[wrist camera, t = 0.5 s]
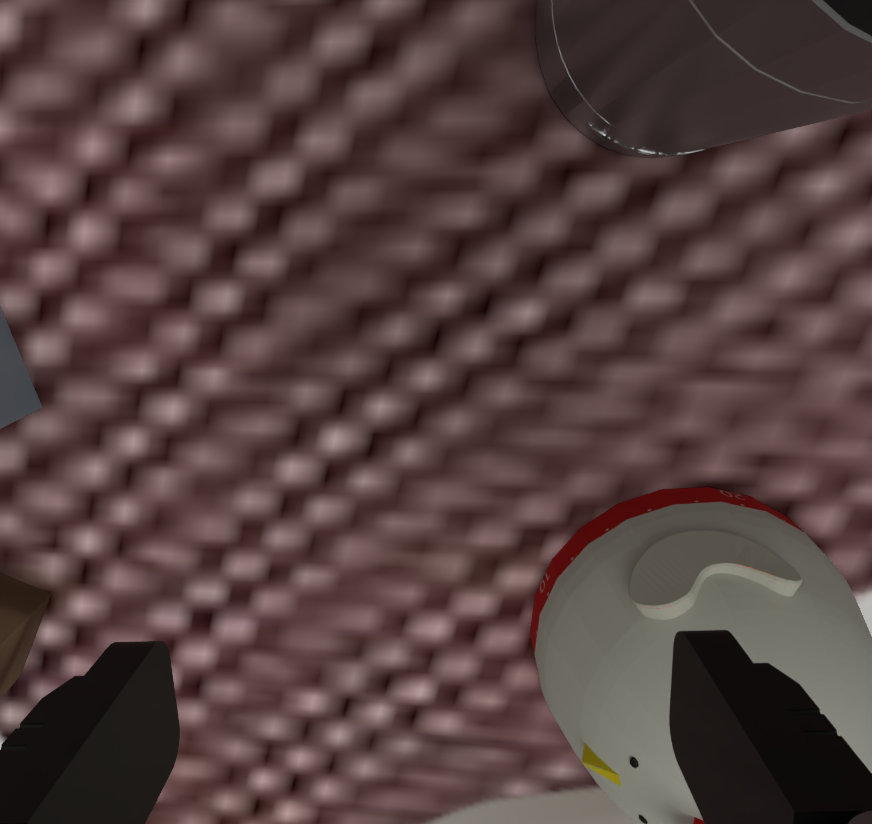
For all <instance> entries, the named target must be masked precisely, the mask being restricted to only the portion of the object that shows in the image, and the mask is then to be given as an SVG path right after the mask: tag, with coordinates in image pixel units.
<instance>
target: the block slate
mask: <svg viewBox="0 0 872 824" xmlns="http://www.w3.org/2000/svg"><path fill="white" fill-rule="evenodd" d="M41 408H43V407H42V405H41V403H40V400H39V398H38V395H37V393H36V391H35V388H34V386H33V384H32V381H31V379H30V376H29V374H28V372H27V369H26V367H25V364H24V362H23V360H22V357H21V355H20V353H19V350H18V348H17V345H16V343H15V341H14V338H13V336H12V333H11V331H10V329H9V326H8V324H7V322H6V319H5V317H4V314H3V312H2V310H1V307H0V429H1V428H3V427H5V426H7V425H9V424H11V423H13V422H15V421H17V420H19V419H21V418H23V417H25V416H27V415H29V414H31V413H33V412H35V411H37V410H39V409H41Z"/></svg>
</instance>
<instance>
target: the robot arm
mask: <svg viewBox="0 0 872 824" xmlns="http://www.w3.org/2000/svg"><path fill="white" fill-rule="evenodd" d="M535 39H536V45H537V52H538V58H539V64H540V68H541V71H542V74H543V76H544V79H545V82H546V84H547V87H548V90H549V93H550V94H551V96H552V97H553V99H554V101H555V102H556V104H557V105H558V107H559V108H560V110H561V112H562V113H563V115H564V116H565V117H566V118H567V119H568V120H569V121H570V122H571V123H572V124H573V125H574V126H575V127H576V128H577V129H578V130H579V131H580V132H581V133H582V134H583V135H585V136H586V137H588V138H590V139H591V140H593V141H595V142H596V143H598V144H599V145H601V146H603V147H604V148H607V149H610V150H613V151H616V152H619V153H622V154H625V155H628V156H638V157H649V158H657V157H664V156H672V155H683V154H688V153H693V152H698V151H702V150H706V148H710V147H715V146H720V145H724V144H729V143H733V142H737V141H741V140H746V139H750V138H754V137H758V136H763V135H767V134H771V133H775V132H780V131H784V130H788V129H792V128H796V127H801V126H805V125H809V124H813V123H818V122H822V121H826V120H830V119H835V118H839V117H843V116H847V115H852V114H856V113H860V112H864V111H869V110H872V0H538V4H537V8H536V35H535ZM669 727H670V736H671V742H672V747H673V751H674V754H675V758H676V760H677V763H678V765H679V767H680V770H681V772H682V774H683V776H684V779H685V781H686V783H687V785H688V787H689V790H690V792H691V794H692V796H693V799H694V801H695V803H696V805H697V807H698V810H699V812H700V814H701V816H702V818H703V821H704V823H705V824H872V773H871V772H870V771H869V769H868V768H867V767H866V766H865V764H864V763H863V762H862V761H861V760H860V758H859V757H858V756H857V755H856V753H855V752H854V751H853V750H852V748H851V747H850V746H849V745H848V743H847V742H846V741H845V740H844V738H843V737H842V736H838V734H837V730H836V729H835V727H834V726H833V725H832V724H831V722H830V721H829V720H828V719H827V717H826V716H825V715H824V714H821V713H820V709H819V708H818V706H817V705H816V704H815V703H814V701H813V700H812V699H811V698H810V696H809V695H808V694H807V693H806V691H805V690H804V689H803V688H802V686H801V685H800V684H799V683H797V682H796V681H794V680H793V679H792V678H790V677H789V676H787V675H786V674H784V673H783V672H781V671H780V670H778V669H777V668H775V667H774V666H772V665H771V664H769V663H753V662H752V660H751V659H750V658H749V656H748V655H747V654H746V652H745V651H744V649H743V648H742V647H741V645H740V644H739V643H738V641H737V640H736V639H735V637H734V636H733V635H732V634H731V632H729V631H728V630H703V631H678V632H677V633H676V635H675V638H674V644H673V659H672V677H671V694H670V711H669ZM179 737H180V727H179V719H178V711H177V704H176V697H175V690H174V682H173V675H172V668H171V661H170V654H169V650H168V647H167V645H166V644H165V643H164V642H162V641H148V642H115V643H112V644H111V645H110V646H109V647H108V648H107V649H106V650H105V651H104V652H103V654H102V655H101V656H100V657H99V659H98V660H97V661H96V662H95V663H94V665H93V666H92V667H91V668H90V669H89V671H88V672H87V673H86V674H85V676H74V677H73V678H71V679H70V680H68V681H67V682H66V683H64V684H63V685H61V686H60V687H58V688H57V689H55V690H54V691H52V692H51V693H49V694H48V695H46V696H45V697H43V698H42V699H41V700H40V702H39V703H38V704H37V705H36V706H35V707H34V708H33V710H32V711H31V712H30V713H29V714H28V715H27V716H26V718H25V719H24V720H23V721H22V722H21V723H20V728H19V729H15V730H14V731H13V732H12V734H11V735H10V736H9V737H8V738H7V739H6V740H5V742H4V743H3V744H2V747H1V750H0V824H145V822H146V820H147V818H148V816H149V814H150V812H151V811H152V809H153V807H154V805H155V803H156V801H157V799H158V797H159V795H160V793H161V791H162V789H163V787H164V785H165V783H166V781H167V779H168V777H169V775H170V773H171V771H172V769H173V767H174V764H175V761H176V757H177V753H178V747H179Z"/></svg>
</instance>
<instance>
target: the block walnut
mask: <svg viewBox="0 0 872 824" xmlns="http://www.w3.org/2000/svg"><path fill="white" fill-rule="evenodd" d="M50 596H51V594H50V593H48V592H45V591H43V590H41V589H38V588H36V587H33V586H31V585H28V584H26V583H24V582H21V581H19V580H16V579H14V578H11V577H9V576H7V575H4V574H2V573H0V698H1V697H2V696H3V695H4V694H5V693H6V691H7V690H8V689H9V688H10V687H11V686H12V685H13V684H14V682H15V681H16V680H17V679H18V678H19V677H20V675H21V673H22V670H23V668H24V665H25V662H26V660H27V657H28V654H29V652H30V649H31V646H32V644H33V641H34V638H35V636H36V633H37V631H38V628H39V625H40V623H41V620H42V617H43V615H44V612H45V609H46V607H47V604H48V601H49V599H50Z"/></svg>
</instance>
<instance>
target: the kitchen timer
mask: <svg viewBox="0 0 872 824" xmlns="http://www.w3.org/2000/svg"><path fill="white" fill-rule="evenodd" d="M703 630H728V631H729V632H731V634H732V635H733V636H734V637H735V639H736V640H737V641H738V643H739V644H740V645H741V647H742V648H743V649H744V651H745V652H746V654H747V655H748V656H749V658H750V659H751V660H752V662H753V663H769V664H771V665H772V666H774V667H775V668H777V669H778V670H780V671H781V672H783V673H784V674H786V675H787V676H789V677H790V678H792V679H793V680H794V681H796V682H797V683H799V684H800V685H801V686H802V688H803V689H804V690H805V691H806V693H807V694H808V695H809V696H810V698H811V699H812V700H813V701H814V703H815V704H816V705H817V706H818V708H819V709H820V713H821V714H824V715H825V716H826V717H827V719H828V720H829V721H830V722H831V724H832V725H833V726H834V727H835V729H836V730H837V734H838V736H842V737H843V738H844V740H845V741H846V742H847V743H848V745H849V746H850V747H851V748H852V750H853V751H854V752H855V753H856V755H857V756H858V757H859V758H860V760H861V761H862V762H863V763H864V764H865V766H866V767H867V768H868V769H869V771H870V772H871V773H872V637H871V634H870V632H869V630H868V627H867V625H866V623H865V620H864V618H863V615H862V613H861V611H860V608H859V606H858V604H857V602H856V599H855V597H854V595H853V593H852V591H851V589H850V587H849V585H848V583H847V582H846V580H845V579H844V577H843V576H842V574H841V573H840V571H839V570H838V569H837V568H836V566H835V565H834V564H833V563H832V562H831V561H830V560H829V558H828V557H827V556H826V555H825V554H824V553H823V552H822V551H821V550H820V549H819V548H818V547H817V545H816V544H815V543H814V542H813V541H812V540H811V539H810V538H809V537H808V536H807V535H806V533H805V532H803V531H802V530H801V529H800V528H799V527H798V526H797V525H796V524H794V523H793V522H792V521H791V520H790V519H789V518H788V517H787V516H785V515H783V514H781V513H780V512H778V511H776V510H774V509H772V508H770V507H769V506H767V505H765V504H763V503H761V502H760V501H758V500H756V499H754V498H752V497H751V496H747V495H742V494H738V493H733V492H728V491H724V490H719V489H714V488H710V487H698V488H680V489H663V490H659V491H656V492H653V493H650V494H647V495H643V496H640V497H637V498H634V499H631V500H628V501H625V502H622V503H619V504H617V505H615V506H614V507H612V508H611V509H609V510H608V511H606V512H605V513H603V514H601V515H600V516H598V517H597V518H595V519H594V520H592V521H591V522H589V523H587V524H586V525H584V526H583V527H581V528H580V529H579V530H578V531H577V532H576V534H575V535H574V536H573V537H572V538H571V539H570V540H569V541H568V542H567V544H566V545H565V546H564V547H563V548H562V549H561V550H560V551H559V552H558V554H557V555H556V556H555V557H554V558H553V559H552V561H551V563H550V565H549V567H548V569H547V571H546V574H545V576H544V578H543V580H542V582H541V584H540V586H539V588H538V590H537V592H536V595H535V600H534V607H533V615H532V622H531V630H530V635H531V640H532V645H533V650H534V655H535V660H536V665H537V670H538V675H539V679H540V684H541V689H542V692H543V695H544V698H545V701H546V703H547V705H548V707H549V709H550V711H551V713H552V714H553V716H554V718H555V720H556V721H557V723H558V725H559V726H560V728H561V730H562V731H563V733H564V735H565V737H566V738H567V740H568V742H569V743H570V745H571V747H572V748H573V750H574V751H575V753H576V754H577V756H578V757H579V759H580V760H581V762H582V763H583V764H584V766H585V767H586V769H587V770H588V771H589V773H590V774H591V776H592V777H593V778H594V780H595V781H596V782H597V784H598V785H599V786H600V788H601V789H602V790H603V792H604V793H605V794H606V795H607V796H608V797H609V798H610V799H611V800H612V801H613V802H614V803H615V804H616V805H617V806H618V807H619V808H620V809H621V810H622V811H623V812H625V813H626V814H627V815H628V816H629V817H630V818H631V819H632V820H634V821H635V822H636V823H637V824H705V823H704V821H703V818H702V816H701V814H700V812H699V810H698V807H697V805H696V803H695V801H694V799H693V796H692V794H691V792H690V790H689V787H688V785H687V783H686V781H685V779H684V776H683V774H682V772H681V770H680V767H679V765H678V763H677V760H676V758H675V754H674V751H673V747H672V742H671V736H670V727H669V711H670V694H671V677H672V659H673V644H674V638H675V635H676V633H677V632H678V631H703Z"/></svg>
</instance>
